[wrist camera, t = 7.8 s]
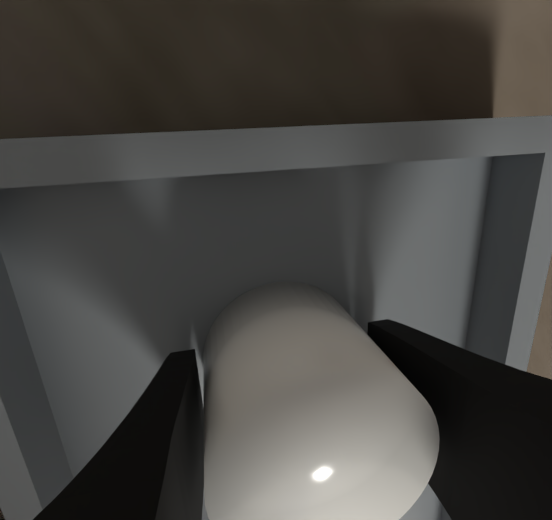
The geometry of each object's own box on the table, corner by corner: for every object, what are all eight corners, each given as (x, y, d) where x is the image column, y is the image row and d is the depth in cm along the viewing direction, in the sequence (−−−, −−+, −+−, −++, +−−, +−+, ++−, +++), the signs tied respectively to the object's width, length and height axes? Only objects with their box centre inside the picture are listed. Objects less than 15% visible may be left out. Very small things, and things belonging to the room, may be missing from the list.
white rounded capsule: (351, 401, 11) (428, 530, 7) (212, 428, 10) (218, 589, 6) (354, 272, 10) (451, 350, 6) (193, 292, 9) (188, 397, 5)
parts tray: (431, 567, 16) (469, 637, 14) (124, 661, 14) (109, 763, 12) (494, 122, 10) (582, 114, 8) (-46, 147, 8) (-155, 145, 5)
